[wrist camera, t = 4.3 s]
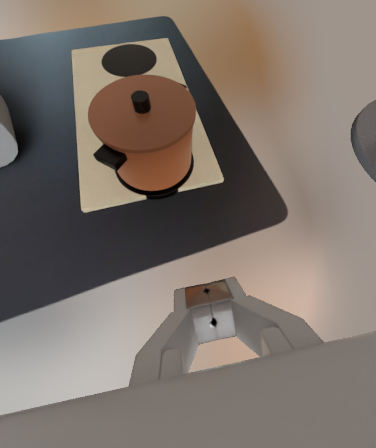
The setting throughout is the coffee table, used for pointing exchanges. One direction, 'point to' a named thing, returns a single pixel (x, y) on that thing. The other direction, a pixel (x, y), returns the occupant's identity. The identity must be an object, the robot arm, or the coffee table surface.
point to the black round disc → (159, 193)
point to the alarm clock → (6, 136)
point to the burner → (129, 60)
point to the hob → (88, 142)
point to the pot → (144, 130)
